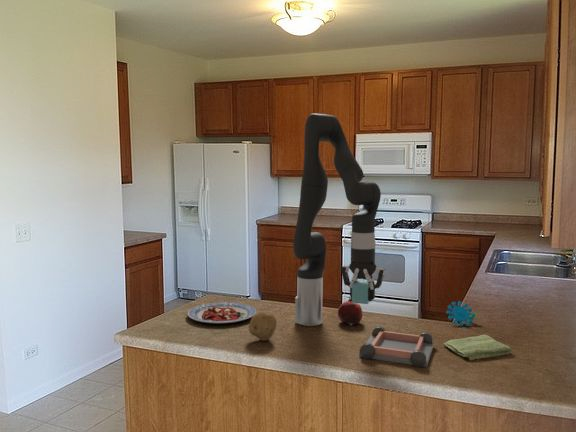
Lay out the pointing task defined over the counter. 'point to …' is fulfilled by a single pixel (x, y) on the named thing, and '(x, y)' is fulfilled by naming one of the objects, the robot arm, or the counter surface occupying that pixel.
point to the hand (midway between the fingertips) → (362, 299)
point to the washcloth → (478, 347)
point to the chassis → (398, 347)
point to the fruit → (350, 312)
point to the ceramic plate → (221, 312)
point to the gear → (461, 314)
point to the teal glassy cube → (360, 292)
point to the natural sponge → (263, 325)
